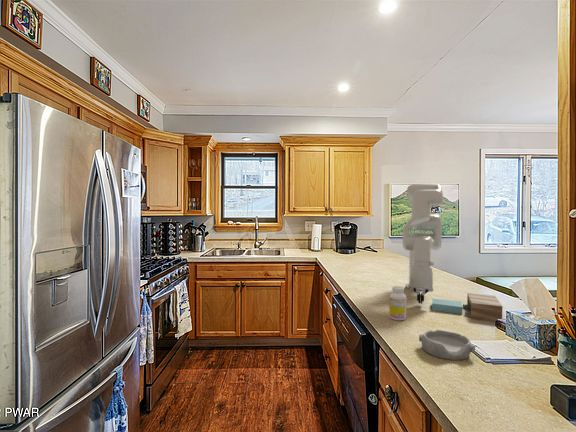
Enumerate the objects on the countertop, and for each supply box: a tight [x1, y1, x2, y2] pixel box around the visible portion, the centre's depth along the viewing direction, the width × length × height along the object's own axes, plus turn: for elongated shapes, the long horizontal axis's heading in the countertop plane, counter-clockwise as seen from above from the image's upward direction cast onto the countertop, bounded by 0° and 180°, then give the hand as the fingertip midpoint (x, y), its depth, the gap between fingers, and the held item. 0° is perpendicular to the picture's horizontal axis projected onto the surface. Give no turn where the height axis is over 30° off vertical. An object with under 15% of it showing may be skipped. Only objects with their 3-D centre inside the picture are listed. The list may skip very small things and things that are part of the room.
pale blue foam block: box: [431, 298, 463, 315], centre depth 148 cm, size 9×12×3 cm
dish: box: [418, 329, 476, 361], centre depth 104 cm, size 14×14×5 cm
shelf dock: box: [462, 292, 503, 322], centre depth 142 cm, size 18×13×6 cm
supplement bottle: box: [389, 285, 407, 321], centre depth 135 cm, size 7×7×13 cm
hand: (420, 302), depth 153 cm, fingers closed
